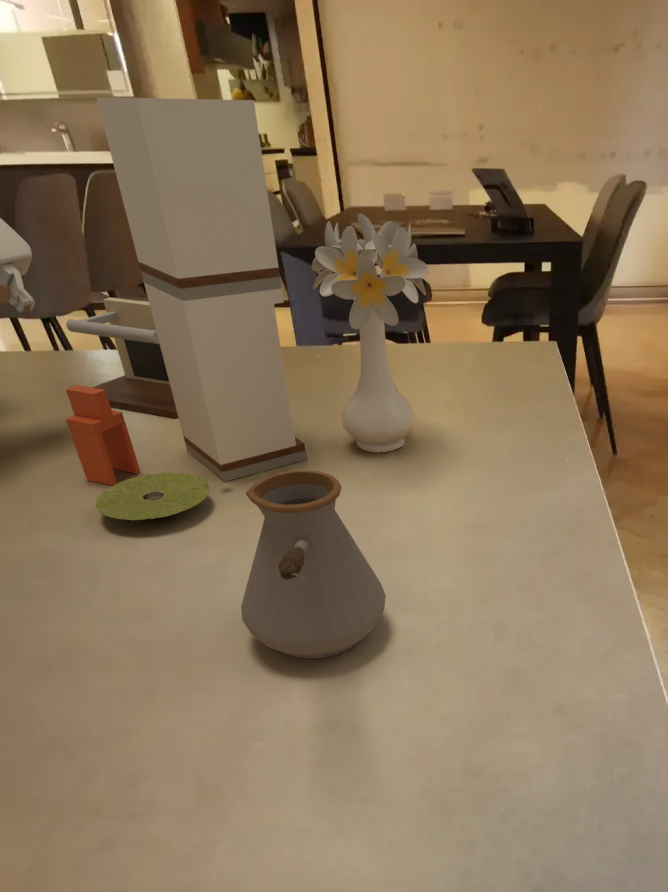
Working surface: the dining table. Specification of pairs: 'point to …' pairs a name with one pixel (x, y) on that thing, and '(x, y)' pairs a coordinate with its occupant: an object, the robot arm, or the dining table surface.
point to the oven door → (133, 357)
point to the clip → (99, 435)
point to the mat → (152, 496)
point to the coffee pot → (307, 570)
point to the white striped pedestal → (208, 272)
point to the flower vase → (372, 322)
